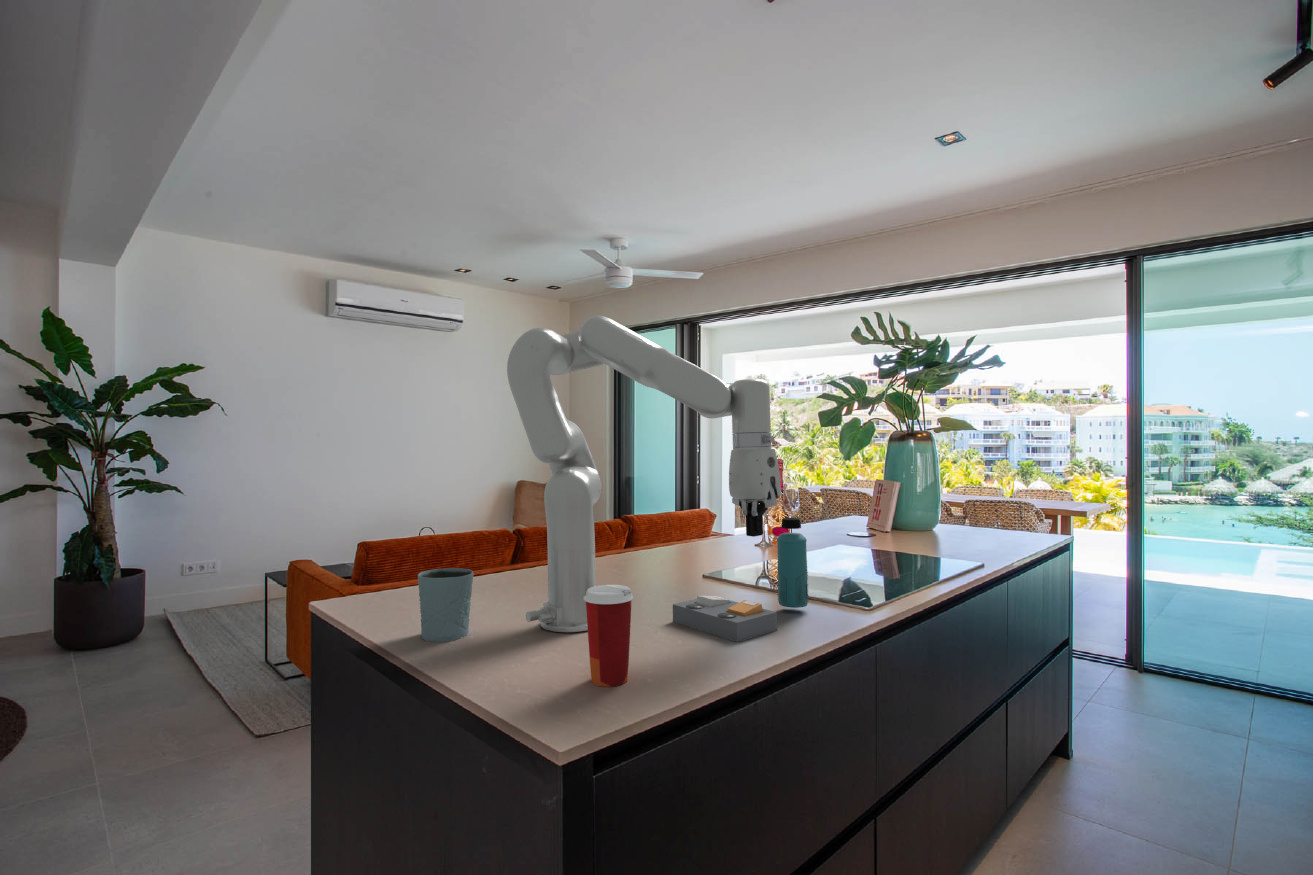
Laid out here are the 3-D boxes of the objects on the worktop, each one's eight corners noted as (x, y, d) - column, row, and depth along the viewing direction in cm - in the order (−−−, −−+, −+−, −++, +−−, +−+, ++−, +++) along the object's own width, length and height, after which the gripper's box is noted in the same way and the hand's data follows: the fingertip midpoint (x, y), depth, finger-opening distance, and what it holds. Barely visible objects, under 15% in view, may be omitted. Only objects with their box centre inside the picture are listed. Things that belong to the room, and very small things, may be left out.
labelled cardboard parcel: (745, 623, 122) (744, 612, 122) (728, 618, 126) (727, 607, 126) (762, 613, 126) (761, 603, 125) (746, 609, 129) (744, 599, 129)
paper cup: (642, 675, 101) (641, 586, 101) (619, 692, 94) (618, 597, 95) (599, 668, 105) (598, 582, 105) (574, 684, 98) (573, 592, 98)
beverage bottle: (811, 614, 135) (810, 519, 135) (779, 615, 135) (778, 519, 136) (805, 606, 142) (803, 515, 142) (774, 607, 142) (773, 516, 142)
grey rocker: (711, 609, 129) (712, 598, 129) (696, 605, 133) (697, 595, 133) (728, 609, 132) (729, 599, 133) (713, 605, 136) (714, 595, 136)
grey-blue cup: (408, 635, 124) (408, 573, 124) (456, 624, 131) (456, 565, 131) (435, 646, 117) (434, 580, 117) (484, 634, 124) (483, 571, 125)
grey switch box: (737, 641, 118) (737, 621, 118) (672, 621, 132) (672, 603, 132) (776, 630, 125) (776, 611, 125) (711, 611, 139) (711, 594, 139)
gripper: (794, 441, 124) (797, 536, 124) (737, 442, 135) (740, 530, 135) (768, 442, 119) (771, 541, 119) (711, 443, 131) (714, 534, 130)
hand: (754, 535), depth 127 cm, fingers closed
